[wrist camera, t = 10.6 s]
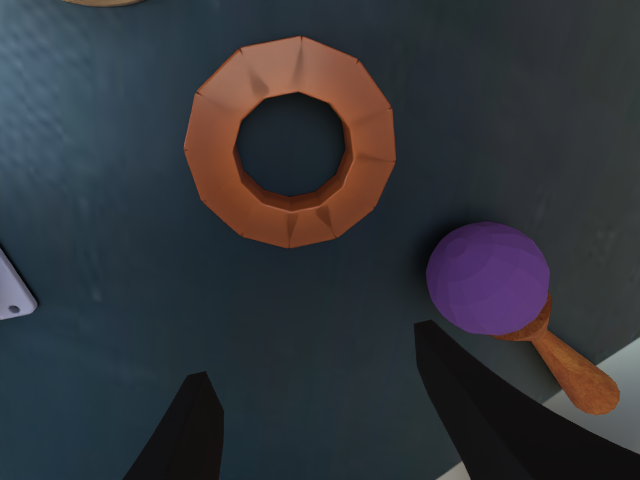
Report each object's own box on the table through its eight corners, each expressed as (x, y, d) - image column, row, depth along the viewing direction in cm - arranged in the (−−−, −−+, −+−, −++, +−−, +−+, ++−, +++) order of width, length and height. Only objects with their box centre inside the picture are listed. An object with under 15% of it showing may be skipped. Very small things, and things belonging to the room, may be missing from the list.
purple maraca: (575, 446, 27) (421, 323, 18) (535, 372, 32) (395, 243, 22) (666, 416, 25) (544, 254, 15) (608, 340, 30) (487, 180, 20)
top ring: (226, 244, 21) (222, 263, 19) (165, 61, 16) (153, 64, 15) (390, 210, 21) (401, 225, 19) (373, 20, 17) (386, 18, 15)
